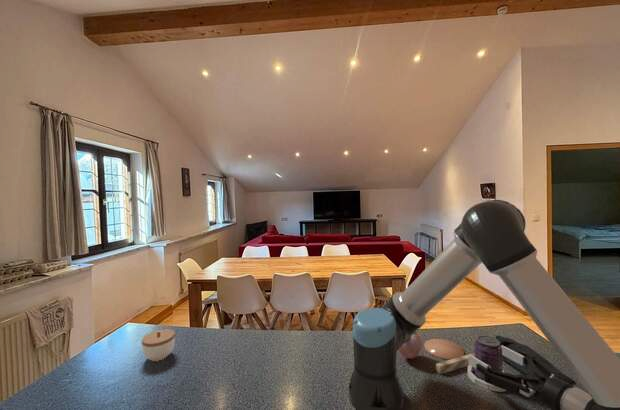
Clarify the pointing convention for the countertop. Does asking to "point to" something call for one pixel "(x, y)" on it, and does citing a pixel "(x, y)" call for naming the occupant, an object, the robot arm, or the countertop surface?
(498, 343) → the beverage can
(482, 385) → the ring
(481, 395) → the countertop surface
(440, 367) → the wooden bar
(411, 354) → the decorative fruit
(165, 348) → the lidded jar
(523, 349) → the dark slate chunk
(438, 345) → the coaster
